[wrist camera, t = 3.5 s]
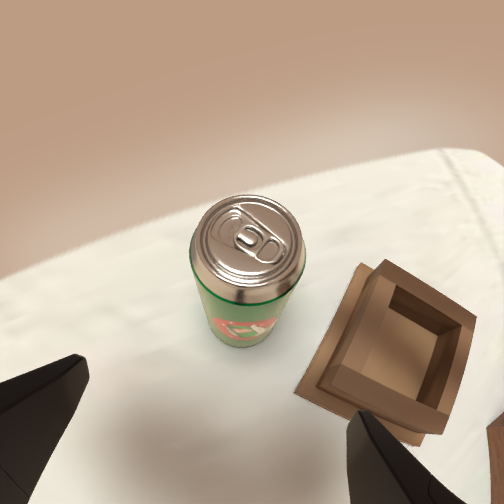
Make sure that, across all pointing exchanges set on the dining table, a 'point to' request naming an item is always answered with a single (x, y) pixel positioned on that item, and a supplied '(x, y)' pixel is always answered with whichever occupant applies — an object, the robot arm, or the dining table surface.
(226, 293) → the soda can
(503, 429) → the tissue box cover
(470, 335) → the socket block
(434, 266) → the dining table surface
